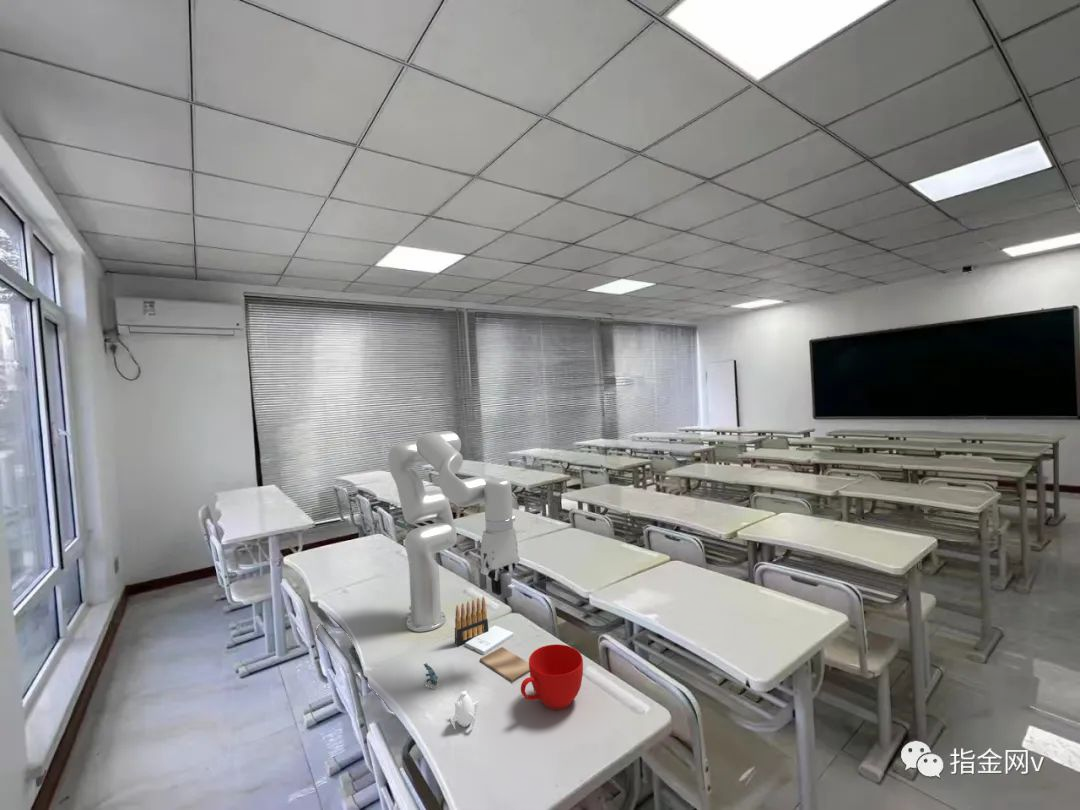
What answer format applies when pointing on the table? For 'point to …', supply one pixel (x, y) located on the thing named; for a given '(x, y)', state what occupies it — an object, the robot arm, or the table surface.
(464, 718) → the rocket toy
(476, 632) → the ammunition clip
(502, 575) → the connector
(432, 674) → the sculpture
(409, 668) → the table surface
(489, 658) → the wood pad
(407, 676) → the table surface
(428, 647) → the table surface
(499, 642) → the external hard drive
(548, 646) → the ceramic cup
